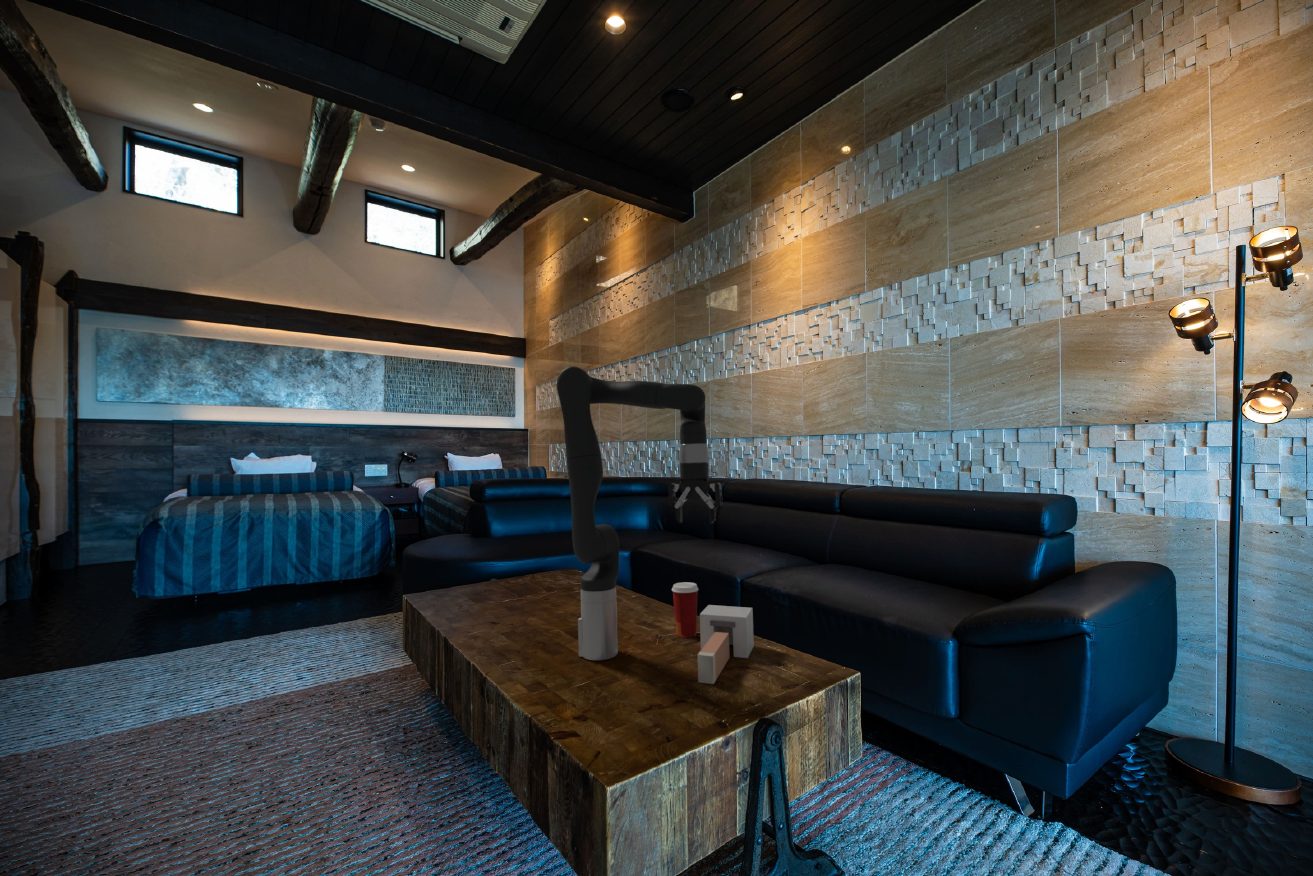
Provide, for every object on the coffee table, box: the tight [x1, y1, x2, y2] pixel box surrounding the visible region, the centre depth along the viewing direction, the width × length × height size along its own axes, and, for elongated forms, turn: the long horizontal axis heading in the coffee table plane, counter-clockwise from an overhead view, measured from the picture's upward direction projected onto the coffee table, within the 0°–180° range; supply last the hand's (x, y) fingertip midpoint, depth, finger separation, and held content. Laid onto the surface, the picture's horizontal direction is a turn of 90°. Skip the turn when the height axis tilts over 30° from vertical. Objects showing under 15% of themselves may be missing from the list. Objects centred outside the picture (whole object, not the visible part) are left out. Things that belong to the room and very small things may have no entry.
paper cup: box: [671, 581, 699, 639], centre depth 154 cm, size 8×8×14 cm
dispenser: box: [699, 604, 755, 659], centre depth 141 cm, size 12×10×10 cm
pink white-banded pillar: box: [696, 632, 730, 685], centre depth 128 cm, size 4×16×6 cm, turn 160°
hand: (695, 522), depth 143 cm, fingers open, 8 cm apart
